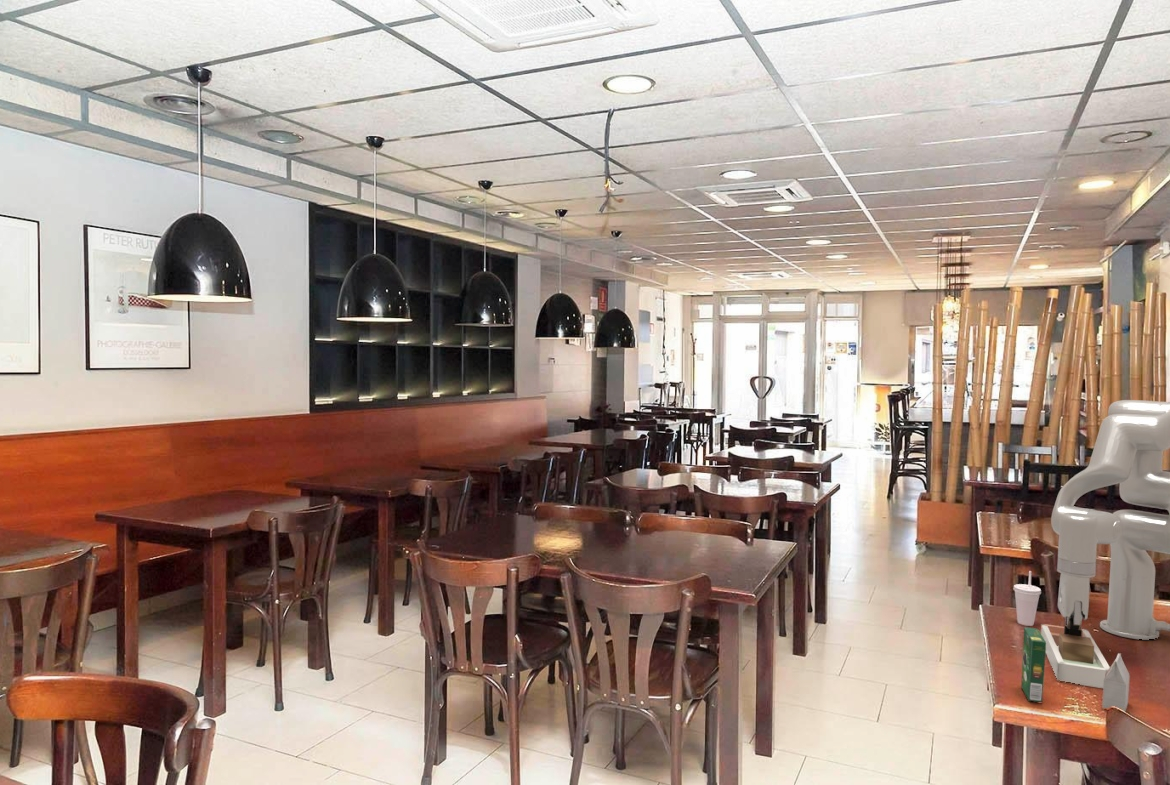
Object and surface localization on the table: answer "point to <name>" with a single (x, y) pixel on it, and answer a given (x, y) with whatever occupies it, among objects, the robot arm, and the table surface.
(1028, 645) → the coffee box
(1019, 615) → the smoothie
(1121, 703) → the milk carton
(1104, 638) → the table surface
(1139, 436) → the robot arm
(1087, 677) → the box
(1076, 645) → the block
